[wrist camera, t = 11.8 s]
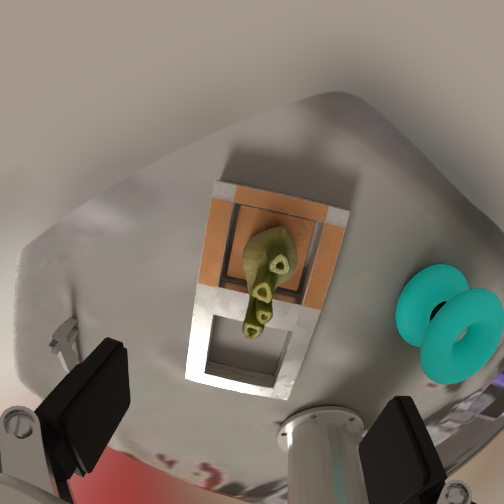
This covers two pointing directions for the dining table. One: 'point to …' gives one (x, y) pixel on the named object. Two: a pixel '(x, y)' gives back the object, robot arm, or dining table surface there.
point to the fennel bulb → (266, 274)
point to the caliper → (65, 343)
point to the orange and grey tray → (283, 303)
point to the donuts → (449, 323)
